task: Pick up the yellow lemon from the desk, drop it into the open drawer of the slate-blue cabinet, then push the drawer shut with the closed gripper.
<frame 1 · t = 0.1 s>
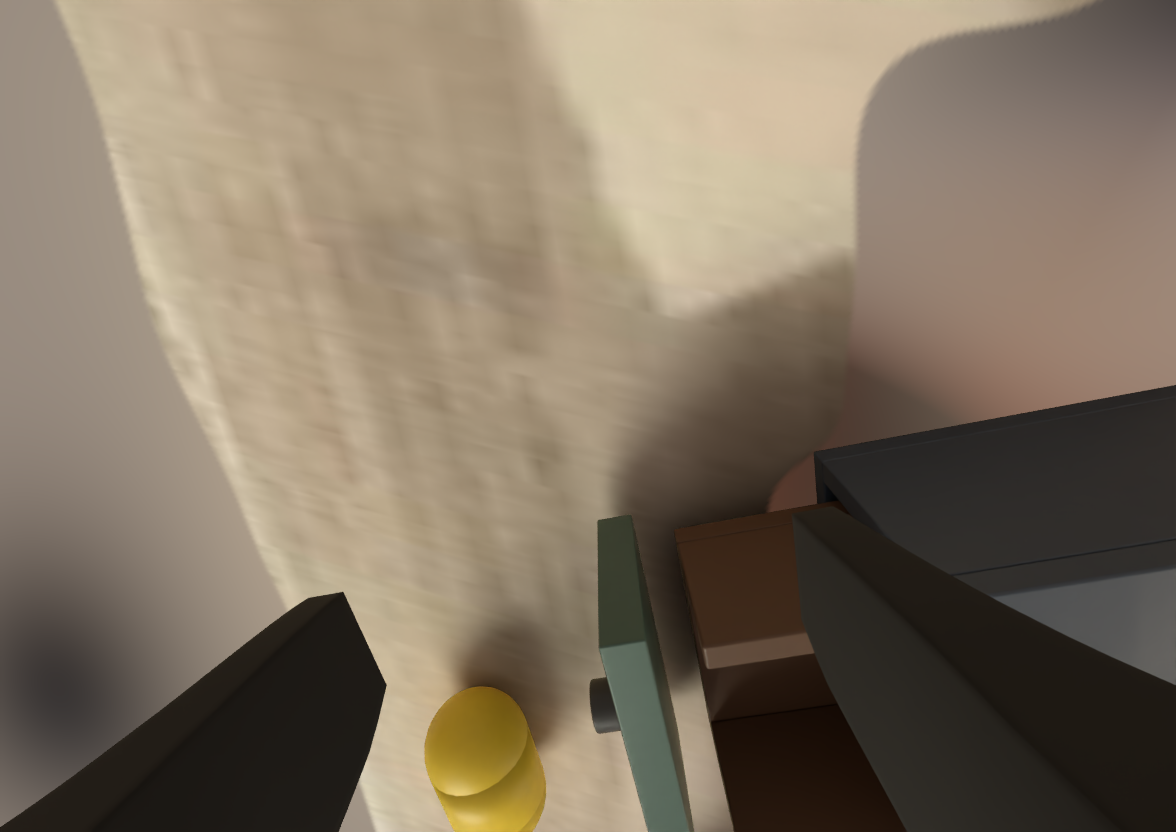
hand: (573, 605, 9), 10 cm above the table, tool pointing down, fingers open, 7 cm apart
drawer: (788, 677, 17), point 4 cm above the table, slide at 6.5 cm
cabinet: (994, 558, 20), on the table
lemon: (496, 723, 24), on the table
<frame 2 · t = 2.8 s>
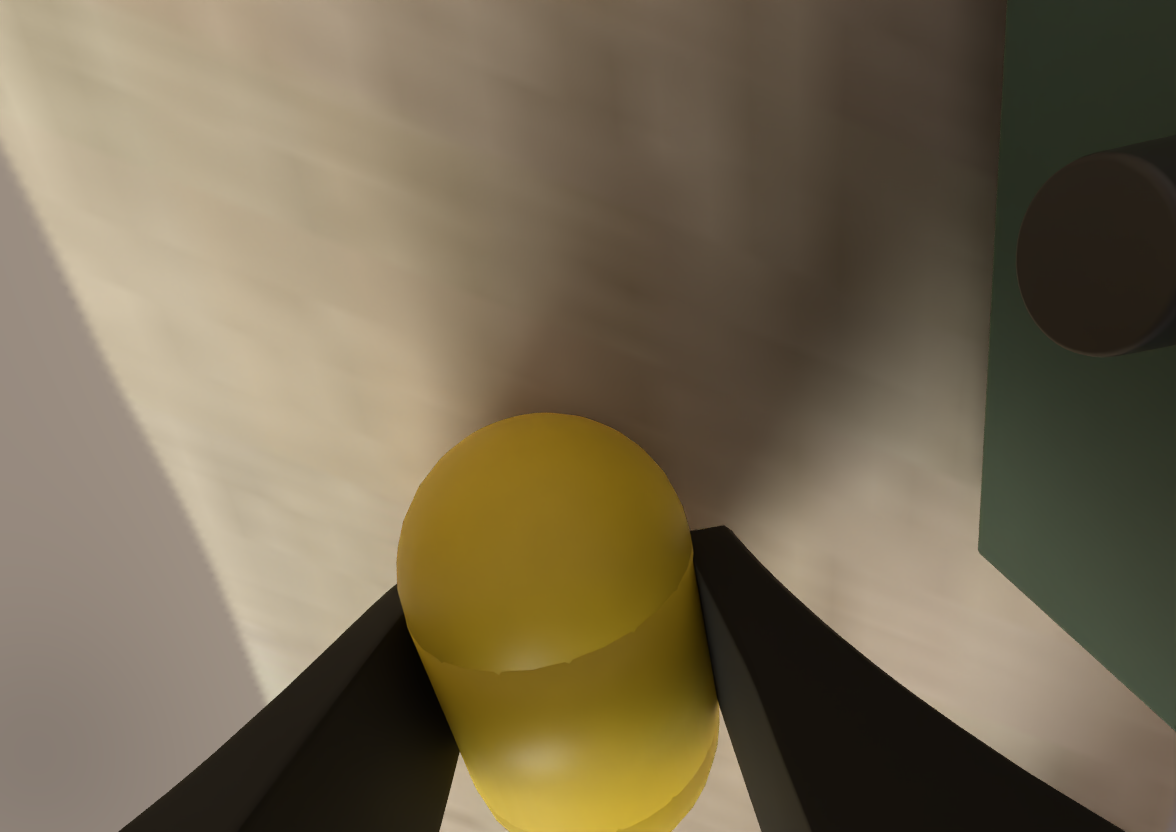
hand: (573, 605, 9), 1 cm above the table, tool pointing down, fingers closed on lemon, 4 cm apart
lemon: (574, 552, 10), on the table, touching gripper
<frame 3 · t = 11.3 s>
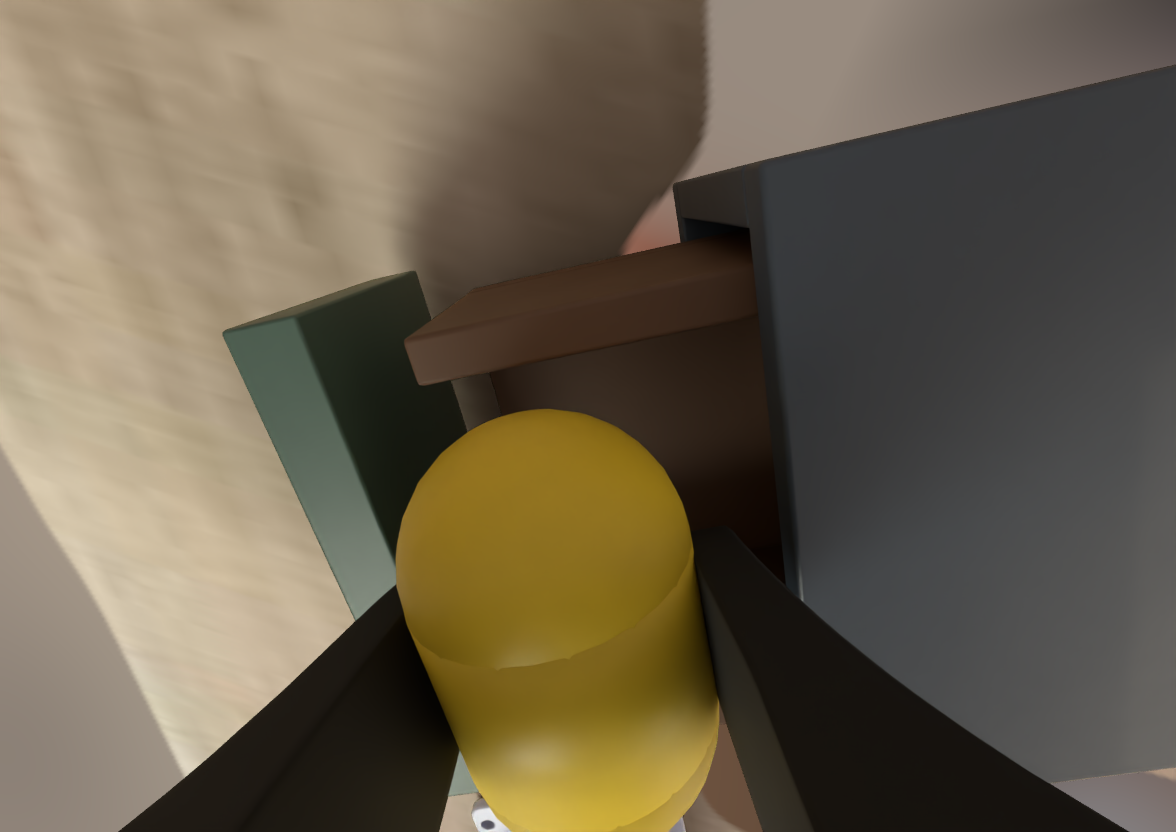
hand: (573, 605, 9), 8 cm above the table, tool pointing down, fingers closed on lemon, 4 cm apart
drawer: (620, 481, 12), point 4 cm above the table, slide at 6.5 cm
cabinet: (933, 356, 15), on the table
lemon: (574, 549, 10), point 6 cm above the table, touching gripper
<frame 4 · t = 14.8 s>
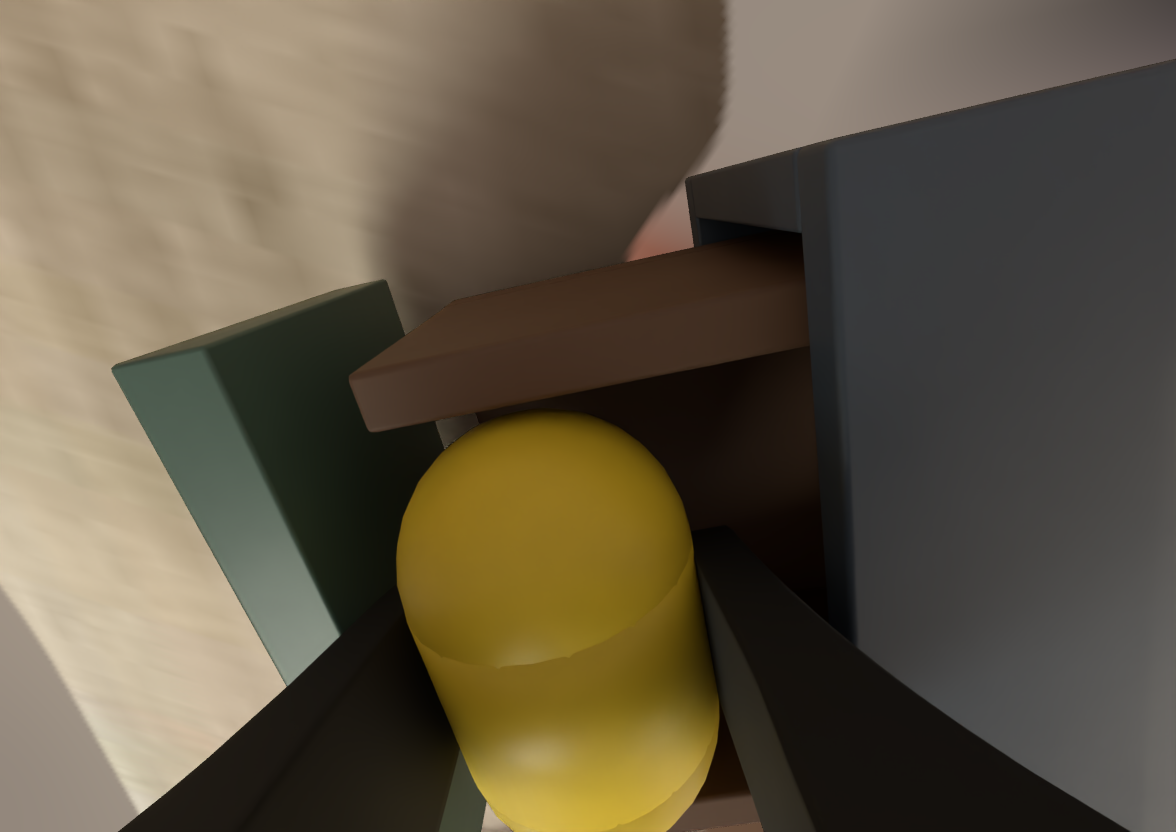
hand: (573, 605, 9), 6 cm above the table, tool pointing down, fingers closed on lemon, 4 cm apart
drawer: (624, 528, 10), point 4 cm above the table, slide at 6.5 cm
cabinet: (980, 375, 13), on the table
lemon: (574, 549, 10), point 4 cm above the table, touching gripper
when the fingers open (5 cm above the table, at t = 20.2 s): lemon drops 2 cm, resting on drawer.
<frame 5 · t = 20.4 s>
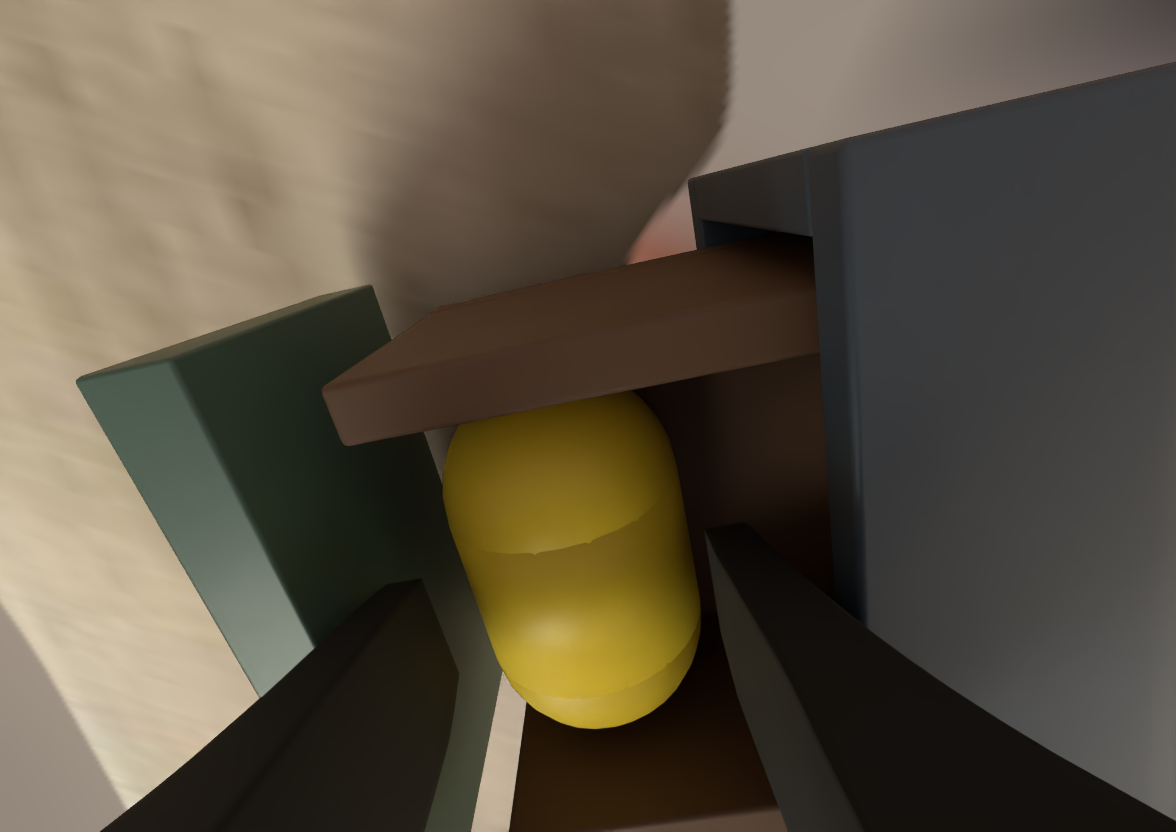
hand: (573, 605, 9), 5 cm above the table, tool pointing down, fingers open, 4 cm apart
drawer: (612, 539, 10), point 4 cm above the table, slide at 6.8 cm, touching gripper, lemon
cabinet: (988, 379, 13), on the table
lemon: (575, 495, 12), point 2 cm above the table, touching drawer
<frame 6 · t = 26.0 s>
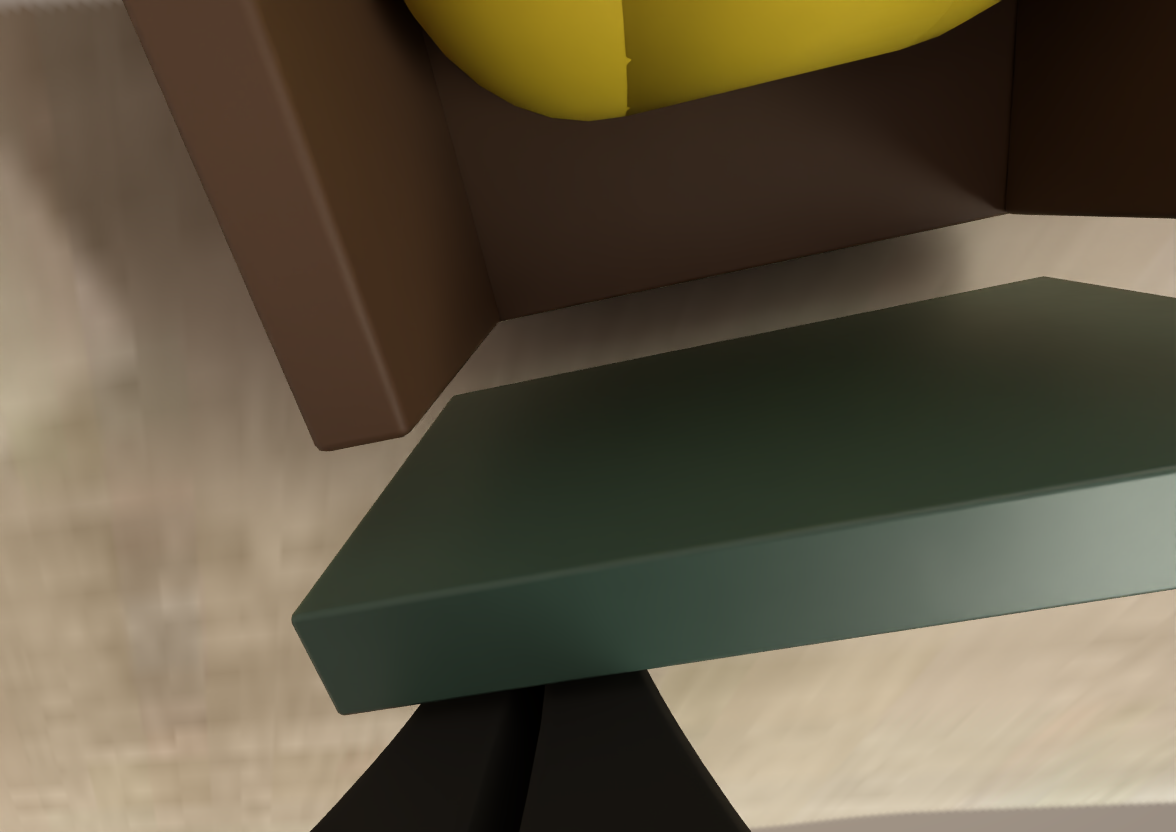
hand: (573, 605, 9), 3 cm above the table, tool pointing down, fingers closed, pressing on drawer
drawer: (759, 26, 5), point 4 cm above the table, slide at 6.0 cm, touching gripper, lemon
lemon: (738, 77, 6), point 3 cm above the table, tilted 64°, touching drawer
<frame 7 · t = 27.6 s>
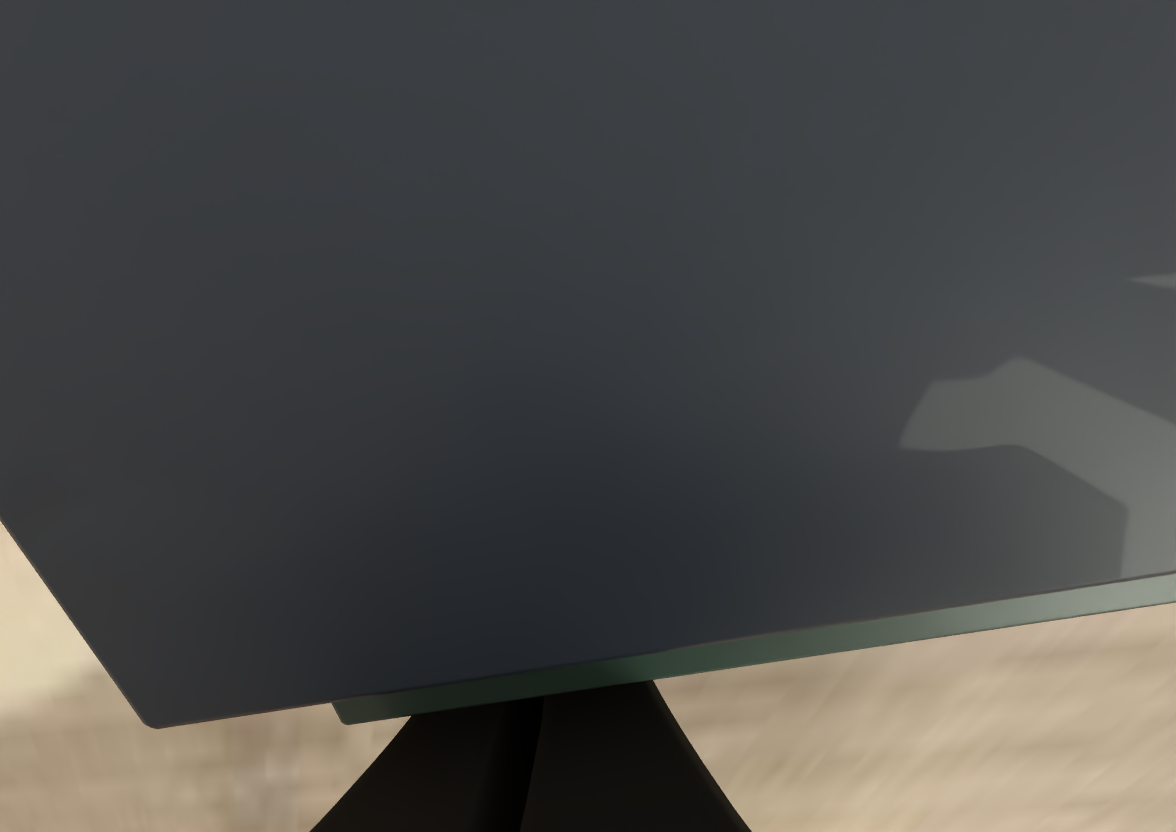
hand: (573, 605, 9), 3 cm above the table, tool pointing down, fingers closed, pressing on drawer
drawer: (763, 35, 5), point 4 cm above the table, slide at 0.0 cm, touching cabinet, gripper, lemon
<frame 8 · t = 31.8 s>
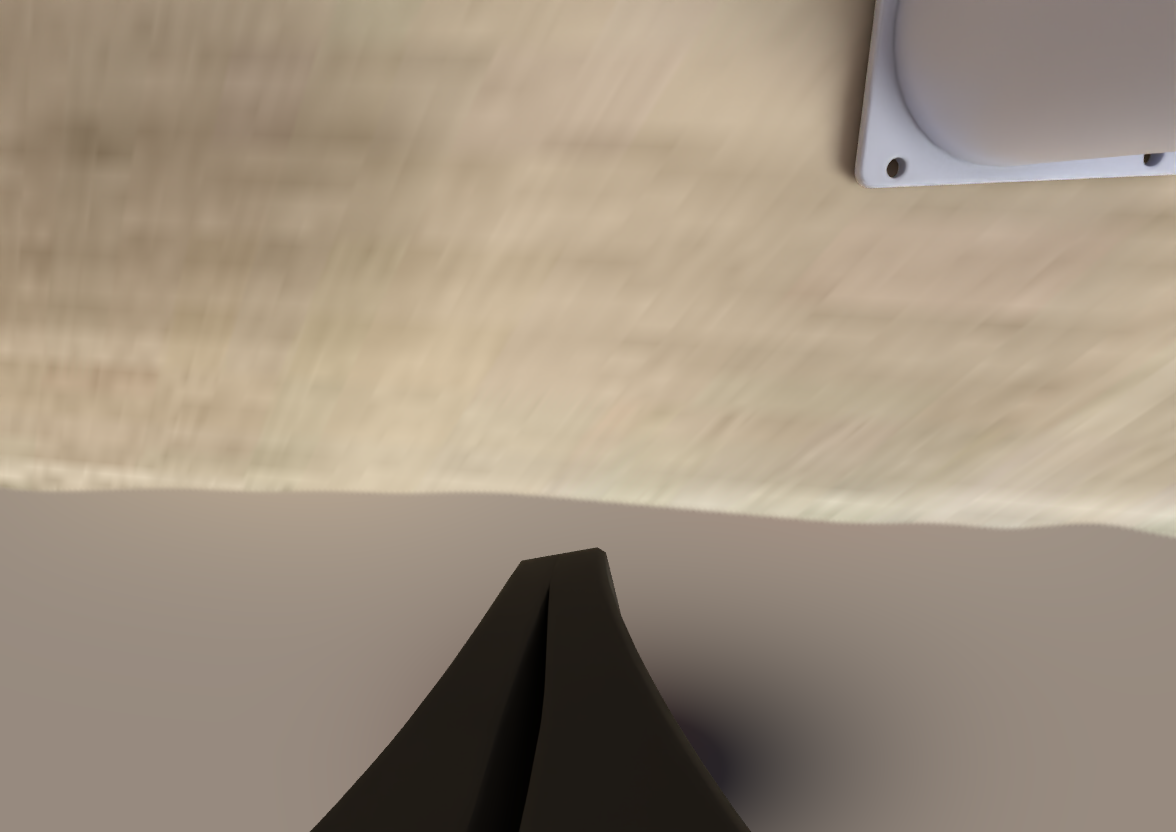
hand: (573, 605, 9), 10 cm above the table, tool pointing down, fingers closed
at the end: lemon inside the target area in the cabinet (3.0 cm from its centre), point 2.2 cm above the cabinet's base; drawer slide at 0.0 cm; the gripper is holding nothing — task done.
